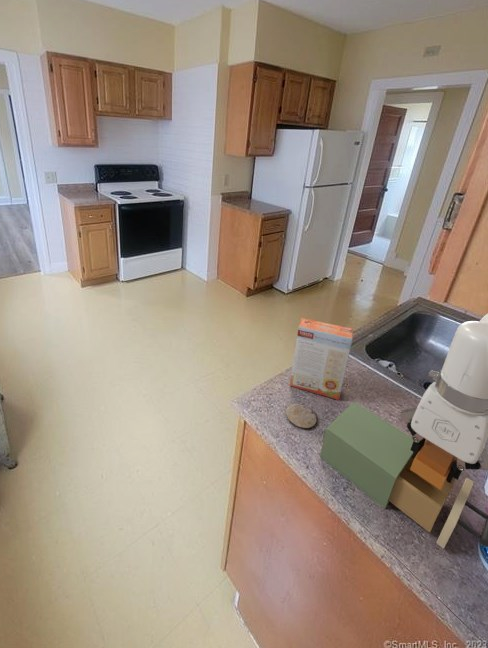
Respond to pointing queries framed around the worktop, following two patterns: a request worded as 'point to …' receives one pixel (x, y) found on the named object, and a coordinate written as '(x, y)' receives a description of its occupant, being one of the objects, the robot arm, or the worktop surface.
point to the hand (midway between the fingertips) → (432, 465)
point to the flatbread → (301, 415)
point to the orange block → (433, 464)
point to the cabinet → (367, 451)
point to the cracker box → (321, 357)
